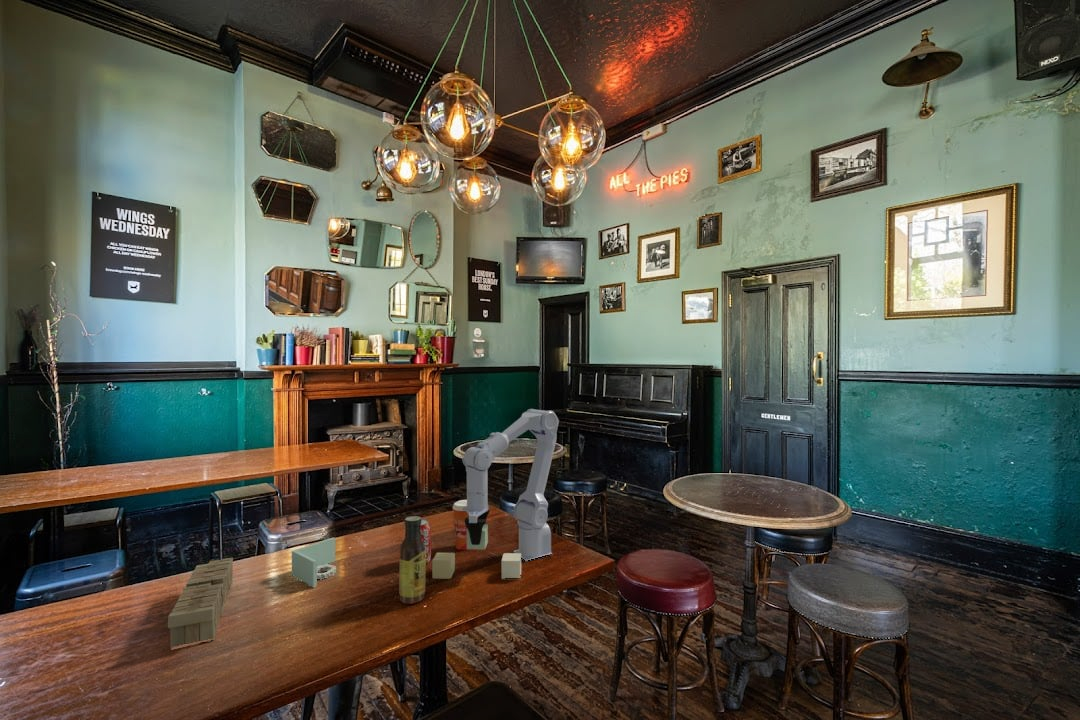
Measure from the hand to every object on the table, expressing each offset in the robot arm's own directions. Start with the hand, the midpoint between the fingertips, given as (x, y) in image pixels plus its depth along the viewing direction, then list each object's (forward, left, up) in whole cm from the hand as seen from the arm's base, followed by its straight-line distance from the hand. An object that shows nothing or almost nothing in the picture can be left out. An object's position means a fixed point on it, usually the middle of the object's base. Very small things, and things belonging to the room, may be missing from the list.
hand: (477, 540), depth 128 cm
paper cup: (-4, -20, -10) cm, 23 cm away
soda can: (+12, -16, -10) cm, 22 cm away
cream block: (-8, +5, -10) cm, 13 cm away
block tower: (+63, -13, -10) cm, 65 cm away
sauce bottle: (+19, +4, -10) cm, 22 cm away
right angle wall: (+37, -22, -10) cm, 44 cm away
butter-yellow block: (+8, -5, -10) cm, 13 cm away
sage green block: (0, 0, -1) cm, 1 cm away
